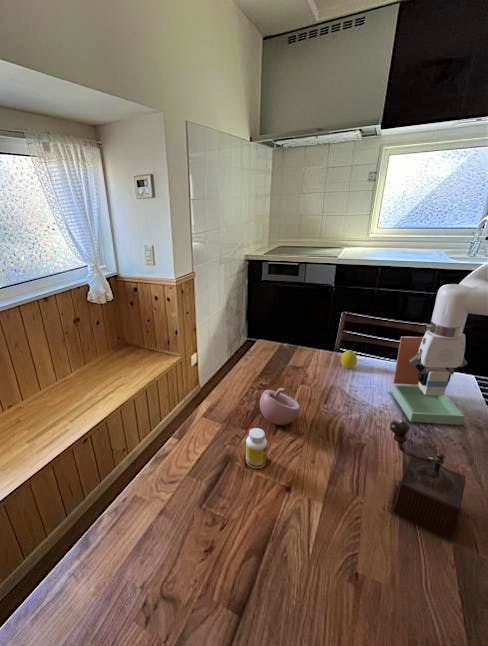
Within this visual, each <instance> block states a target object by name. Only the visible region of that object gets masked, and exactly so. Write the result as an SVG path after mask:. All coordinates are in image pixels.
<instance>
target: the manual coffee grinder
mask: <svg viewBox="0 0 488 646" xmlns="http://www.w3.org/2000/svg"><path fill="white" fill-rule="evenodd" d="M389 428H390V431H391V432H392V433H393V434H394V435H393V440H394V441H395V442H397V446H398V449H399V451H400V452H402V453H403V454H404V455H407V456H409V457H410V458H409V460H408V462H407V464H406V467H405V469H404V471H403V473H402V477H401V483H400V485H399V489H398V492H397V495H396V498H395V500H394V505H393V513H394V514H395V515H397V516H399V517H400V518H403V519H405V520H407V521H409V522H411V523H413V524H415V525H417V526H419V527H421V528H423V529H425V530H427V531H430V532H432V533H433V534H435V535H438V536H441V537H442V538H444V539H446V540H450V538H451V535H452V533H453V529H454V527H455V524H456V521H457V518H458V515H459V512H460V510H461V506H462V504H463V499H464V492H465V488H466V475H463V474H460V473H458V472H456V471H454V470H450V469H448V468H446V467H444V466H443V464H444V463H445V458H446V456H445V454H444V453H443V452H438V453H437V454H436V457H430V456H424V455H421V454H418V453H414V452H411V451H410V450H407V449H406V448H405V446H404V443H405V442H407V441H408V436H407V434H408V432H409V431H410V425H409V423H408V422H407V421H404V420H401V419H395V420H392V421H391V422H390V424H389Z"/></svg>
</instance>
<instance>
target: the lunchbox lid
mask: <svg viewBox="0 0 488 646" xmlns="http://www.w3.org/2000/svg"><path fill="white" fill-rule="evenodd" d="M423 337H424V336H400V339H399V345H398V350H397V356H396V357H397V358H396V364H395V370H394V375H393V382H392V384H393V385H418V384H419V381H418V375H419V370H418V369H417V368H416V367H415V366H413V365H412V364H411V363H410V362H409V360H410V359H412V358H413V357H414V356H415V355H417V354H418V351H419V347H420V344H421V342H422V339H423ZM417 363H419V364H421V361H420V360H419V361H418V362H417Z"/></svg>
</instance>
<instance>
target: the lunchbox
mask: <svg viewBox="0 0 488 646" xmlns="http://www.w3.org/2000/svg"><path fill="white" fill-rule="evenodd" d="M391 394H392V396H393V397H394V398H395V400H396V402H397V403H398V404H399V406H400V408H401V409H402V411H403V413H404V414H405V416H406V417H407V419H408V421H410V422H409V423H427V424H443V425H445V424H446V425H458V426H459V425H461V426H462V425H463V424H464V421H465V417H466V416H465V414H464V413H463V411H461V410H460V409H459V408H458V406H457V405H456V404H455V403H454V402H453V401H452V400H451V398H450V397H449V396H448V394H446V392H445V393H444V396H438V395H425V394H424V393H423V392H422V390H421V389H420V388H419V387H418V385H415V384H392V389H391Z"/></svg>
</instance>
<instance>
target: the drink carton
mask: <svg viewBox="0 0 488 646" xmlns="http://www.w3.org/2000/svg"><path fill="white" fill-rule="evenodd" d="M427 374H428V377H427V380H426V384H425V386H423V385H422V384H421V383H420V382H419V384H418V387H419V388H420V389H421V390H422V392H423V393H424V394H425V395H438V396H444V393H445V394H446V388H447V387H448V385H447V383H448V384H449V382H448V378H449V374H450V372H449V371H448V370H447V369H446V368H436V367H430V368H429V369H428V371H427Z"/></svg>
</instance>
